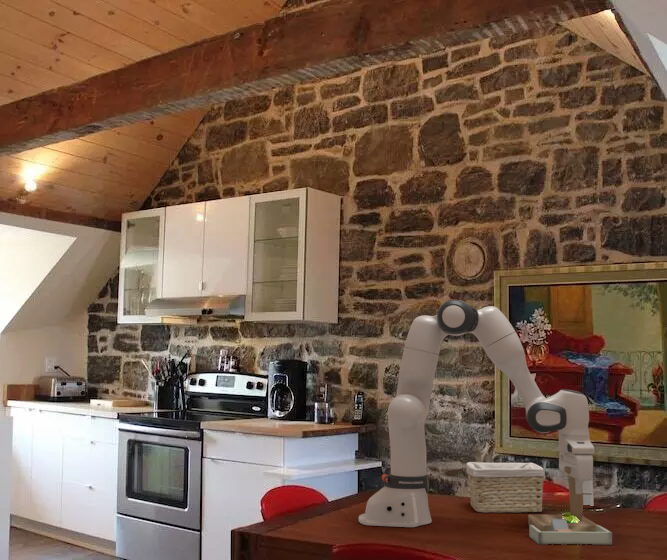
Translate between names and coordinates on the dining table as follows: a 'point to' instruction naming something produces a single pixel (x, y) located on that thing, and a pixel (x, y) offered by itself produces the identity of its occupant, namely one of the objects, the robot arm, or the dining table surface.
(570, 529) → the tile
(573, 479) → the handle
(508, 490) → the storage basket
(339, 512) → the dining table surface
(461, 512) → the dining table surface
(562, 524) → the tile
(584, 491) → the syrup box
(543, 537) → the tray
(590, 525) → the square wooden board
